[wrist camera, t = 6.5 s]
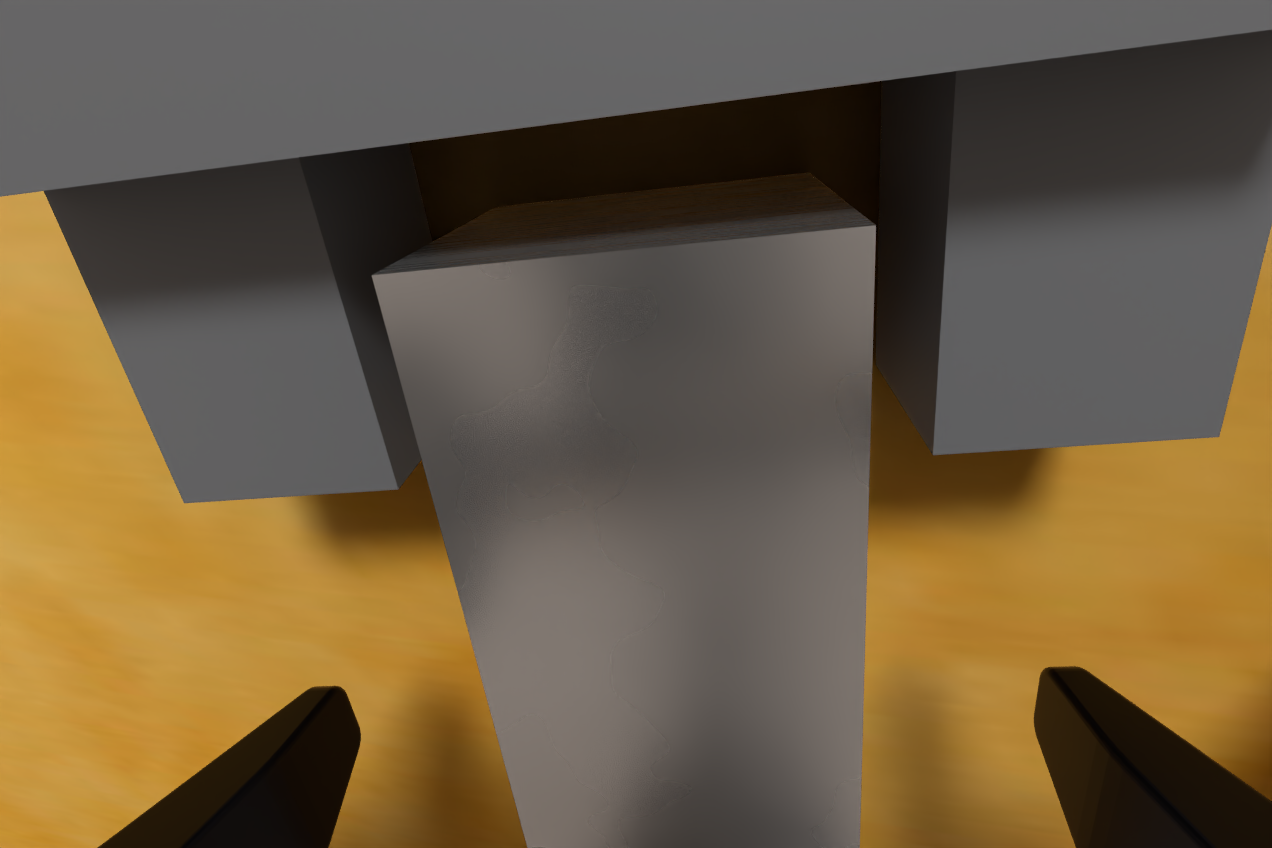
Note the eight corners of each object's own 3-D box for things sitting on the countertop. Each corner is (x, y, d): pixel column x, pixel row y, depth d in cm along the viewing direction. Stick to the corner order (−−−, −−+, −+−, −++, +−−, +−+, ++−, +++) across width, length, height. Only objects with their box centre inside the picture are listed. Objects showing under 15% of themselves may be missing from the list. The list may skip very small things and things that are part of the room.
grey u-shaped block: (1085, 347, 10) (1328, 510, 6) (300, 411, 12) (96, 572, 8) (1161, -158, 8) (1638, -419, 4) (161, 7, 10) (-240, -54, 6)
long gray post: (814, 766, 15) (854, 1017, 11) (606, 766, 16) (570, 1004, 11) (807, 170, 10) (875, 226, 6) (499, 204, 11) (371, 275, 6)
